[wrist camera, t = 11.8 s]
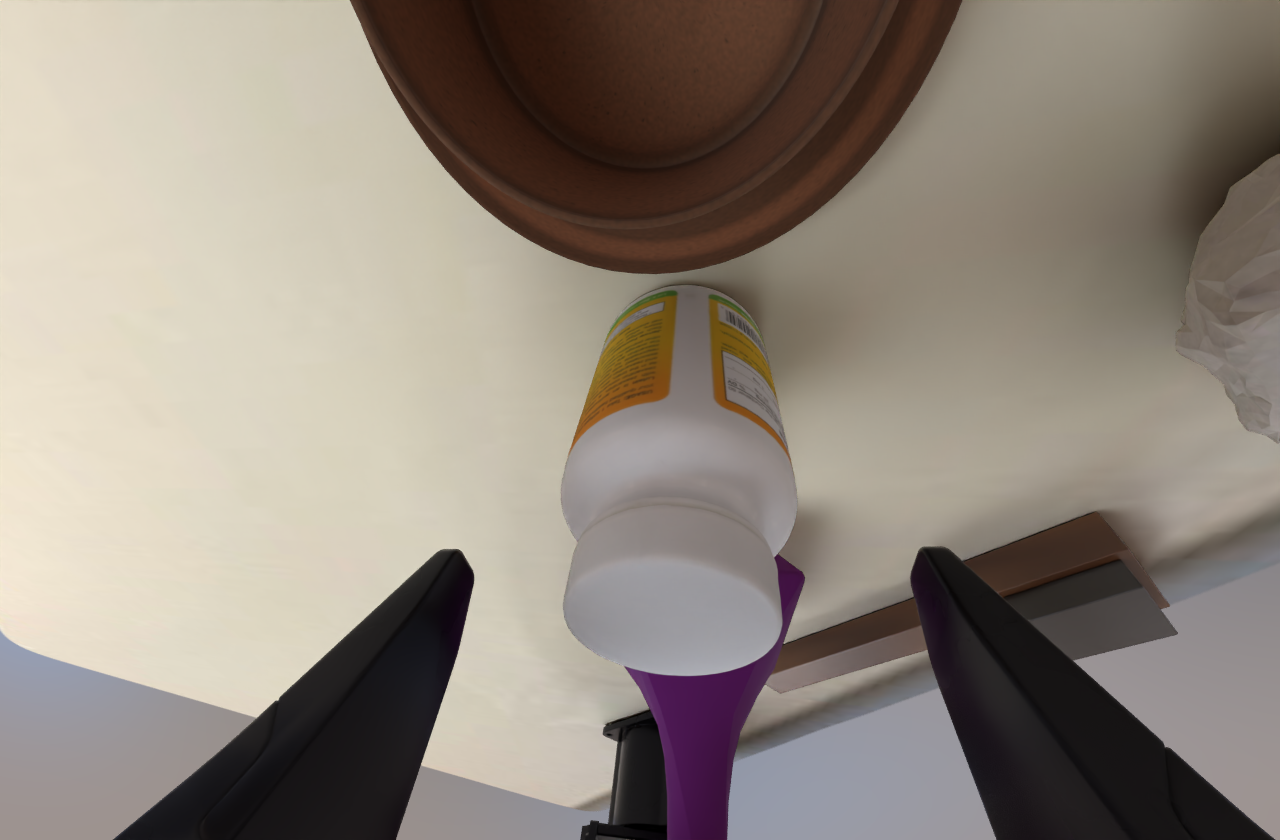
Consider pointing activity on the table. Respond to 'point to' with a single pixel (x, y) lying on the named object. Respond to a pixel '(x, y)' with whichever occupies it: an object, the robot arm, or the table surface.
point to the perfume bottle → (709, 727)
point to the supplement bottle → (679, 490)
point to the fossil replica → (1240, 299)
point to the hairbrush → (1028, 580)
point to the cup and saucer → (654, 112)
